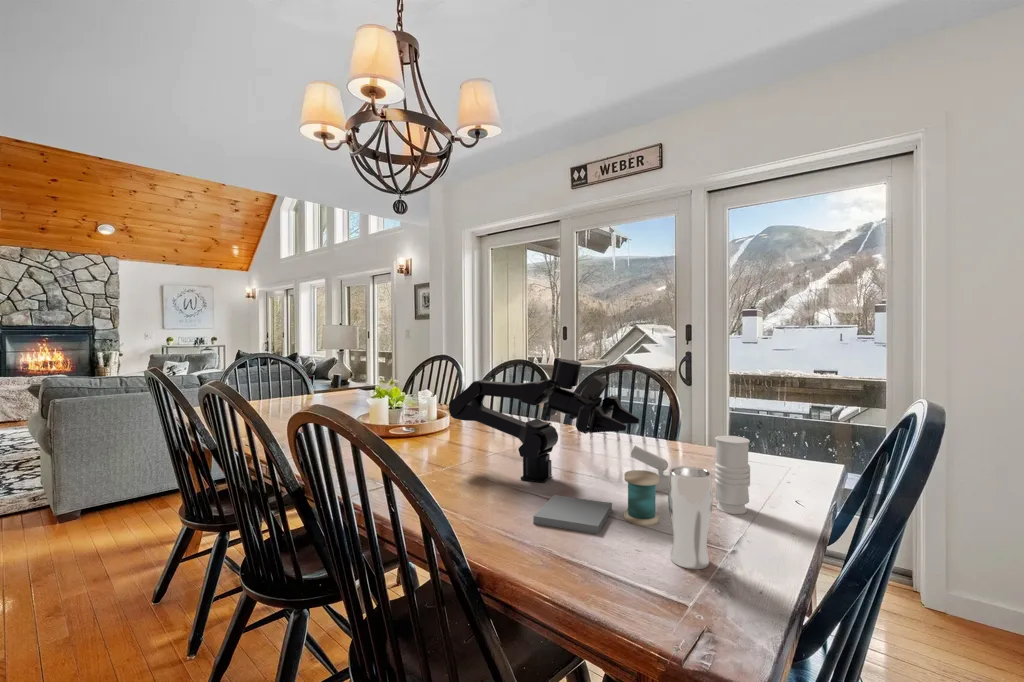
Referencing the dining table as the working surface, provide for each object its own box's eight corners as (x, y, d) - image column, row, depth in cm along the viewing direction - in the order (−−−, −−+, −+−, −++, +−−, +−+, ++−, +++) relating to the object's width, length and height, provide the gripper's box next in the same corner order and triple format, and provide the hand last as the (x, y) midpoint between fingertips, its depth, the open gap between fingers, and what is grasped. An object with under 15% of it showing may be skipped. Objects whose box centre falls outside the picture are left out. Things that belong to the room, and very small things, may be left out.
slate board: (533, 523, 97) (533, 515, 97) (553, 501, 109) (553, 495, 109) (598, 534, 92) (598, 526, 92) (612, 510, 104) (612, 503, 104)
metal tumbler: (661, 552, 85) (661, 466, 84) (699, 550, 85) (700, 465, 85) (678, 572, 78) (678, 478, 77) (720, 570, 78) (720, 477, 78)
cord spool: (621, 522, 97) (621, 478, 97) (627, 510, 104) (627, 468, 103) (656, 528, 95) (657, 482, 95) (660, 515, 101) (660, 472, 101)
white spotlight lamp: (629, 441, 126) (670, 443, 124) (629, 478, 126) (670, 480, 124) (631, 449, 117) (674, 451, 115) (630, 489, 118) (674, 491, 116)
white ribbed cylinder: (754, 515, 101) (754, 443, 100) (718, 513, 102) (718, 442, 101) (744, 503, 107) (745, 436, 107) (711, 502, 109) (711, 434, 108)
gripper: (562, 376, 111) (627, 396, 103) (593, 369, 127) (652, 386, 119) (552, 422, 113) (615, 445, 105) (585, 410, 129) (642, 429, 121)
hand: (632, 424), depth 112 cm, fingers open, 9 cm apart
